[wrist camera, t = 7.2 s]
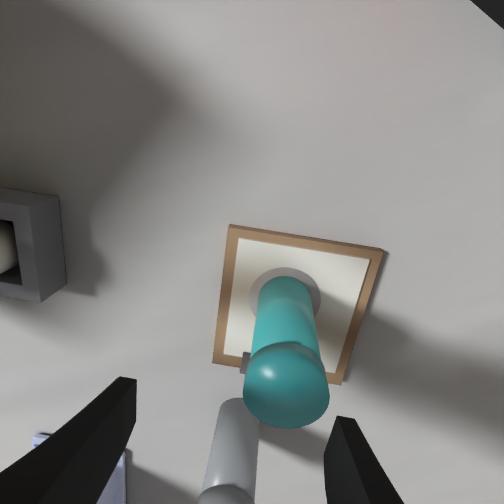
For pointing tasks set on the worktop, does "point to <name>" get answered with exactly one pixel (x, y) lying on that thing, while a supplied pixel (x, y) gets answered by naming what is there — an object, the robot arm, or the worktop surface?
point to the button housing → (33, 245)
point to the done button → (7, 247)
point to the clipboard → (307, 271)
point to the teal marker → (285, 358)
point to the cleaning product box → (492, 9)
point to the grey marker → (232, 457)
